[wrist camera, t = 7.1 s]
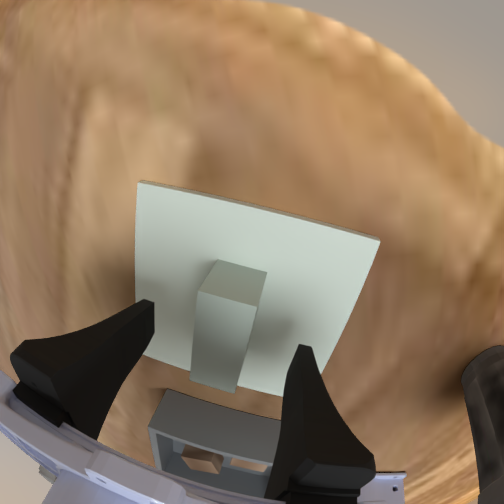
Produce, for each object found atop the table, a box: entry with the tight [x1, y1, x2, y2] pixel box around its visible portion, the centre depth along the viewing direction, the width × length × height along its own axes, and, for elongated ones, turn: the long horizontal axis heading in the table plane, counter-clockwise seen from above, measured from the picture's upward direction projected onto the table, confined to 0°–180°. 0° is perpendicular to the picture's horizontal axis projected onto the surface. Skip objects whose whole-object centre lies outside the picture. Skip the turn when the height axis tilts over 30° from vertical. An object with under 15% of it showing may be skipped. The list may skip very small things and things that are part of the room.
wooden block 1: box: [181, 444, 224, 474], centre depth 23 cm, size 3×3×2 cm
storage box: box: [148, 388, 281, 498], centre depth 21 cm, size 12×12×4 cm
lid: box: [135, 180, 380, 397], centre depth 15 cm, size 12×12×4 cm
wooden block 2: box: [230, 458, 268, 472], centre depth 21 cm, size 3×3×2 cm
